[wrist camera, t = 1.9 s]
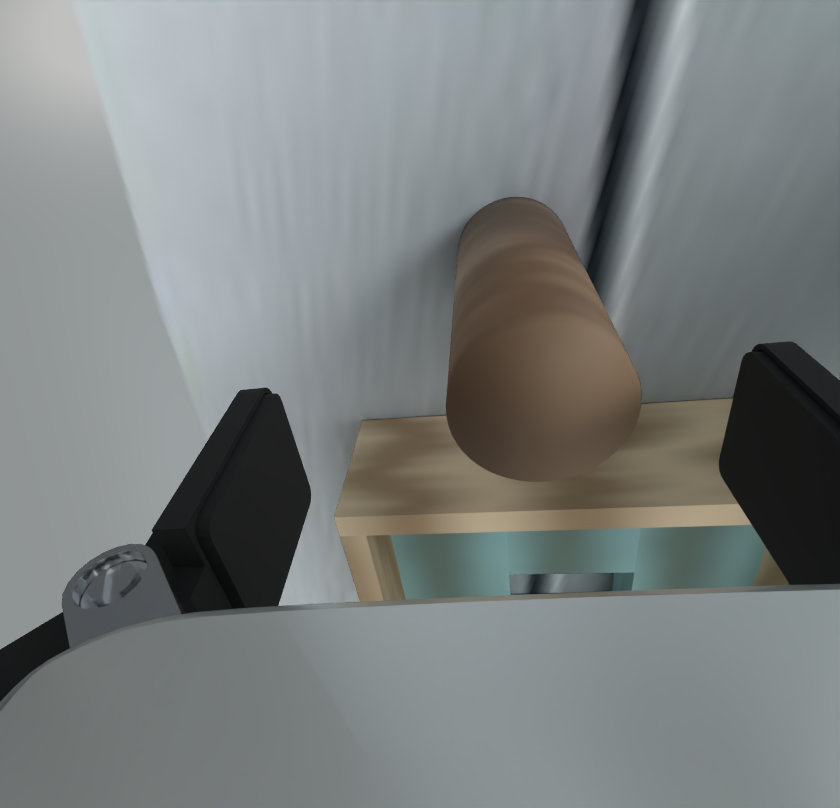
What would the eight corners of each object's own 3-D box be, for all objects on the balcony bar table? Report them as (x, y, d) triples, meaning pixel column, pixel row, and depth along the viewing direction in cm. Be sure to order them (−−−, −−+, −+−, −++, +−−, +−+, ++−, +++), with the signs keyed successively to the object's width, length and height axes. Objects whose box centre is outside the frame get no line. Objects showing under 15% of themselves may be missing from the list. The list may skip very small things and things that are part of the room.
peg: (569, 190, 18) (652, 315, 10) (567, 300, 20) (632, 477, 12) (452, 204, 18) (435, 332, 10) (462, 309, 21) (455, 485, 12)
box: (790, 394, 22) (885, 499, 17) (707, 665, 33) (749, 776, 28) (362, 420, 24) (333, 517, 19) (419, 663, 35) (411, 764, 30)
